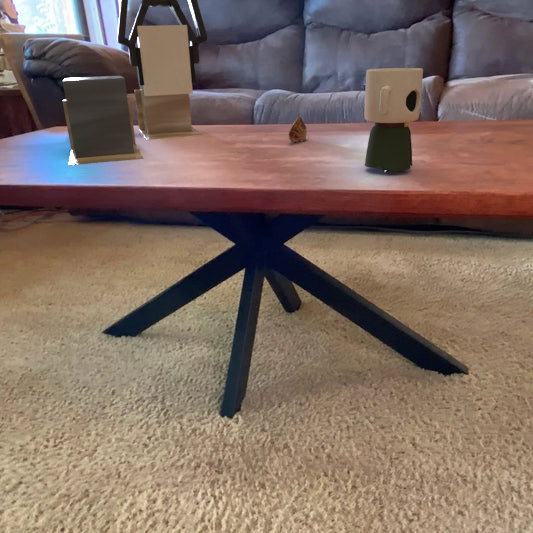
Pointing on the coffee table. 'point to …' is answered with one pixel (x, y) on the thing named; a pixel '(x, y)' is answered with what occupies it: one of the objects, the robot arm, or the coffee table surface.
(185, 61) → the cream book
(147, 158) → the coffee table surface
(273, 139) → the coffee table surface
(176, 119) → the cream rack
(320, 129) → the coffee table surface
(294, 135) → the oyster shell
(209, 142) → the coffee table surface
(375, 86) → the toy figurine
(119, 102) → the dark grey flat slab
